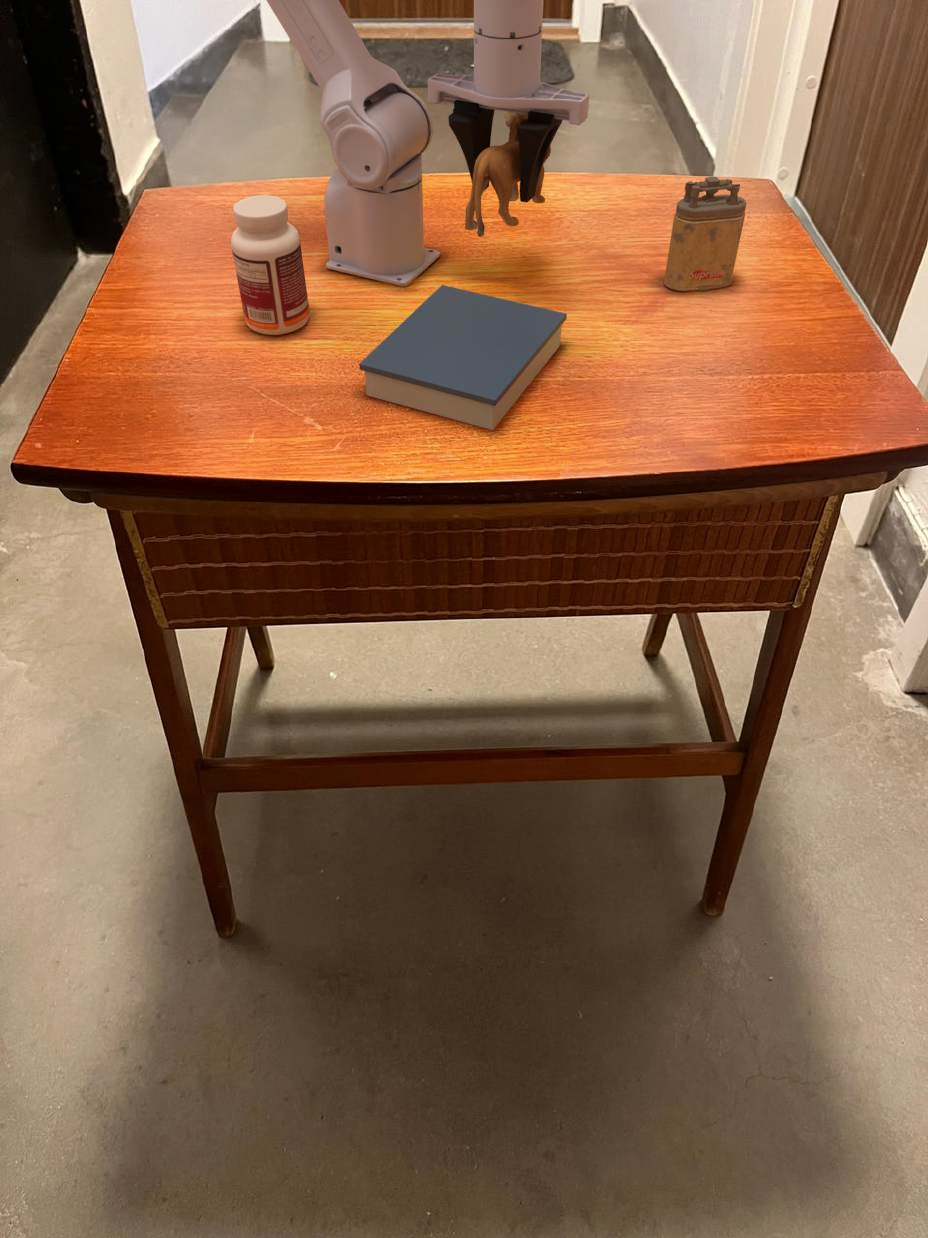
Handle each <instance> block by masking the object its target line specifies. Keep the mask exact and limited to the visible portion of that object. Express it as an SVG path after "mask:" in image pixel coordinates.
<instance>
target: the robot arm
mask: <svg viewBox="0 0 928 1238" xmlns="http://www.w3.org/2000/svg"><path fill="white" fill-rule="evenodd" d="M265 1H266V3H267V4H268V6H269V7H270V9H271V10H272V12H273V14H274V16H275V17H276V18H277V20H278V22H279V24H280V25H281V27H282V29H283V30H284V32H285V33H286V35H287V36H288V38H289V40H290V41H291V44H292V45H293V46H294V48H295V50H296V52H297V53H298V55H299V56H300V58H301V59H302V61H303V63H304V64H305V67H306V68H307V69H308V71H309V72H310V74H311V76H312V77H313V79H314V81H315V82H316V84H317V85H318V87H319V89H320V91H321V92H322V99H321V106H320V114H319V124H320V126H321V128H322V129H323V131H324V133H325V135H326V136H327V139H328V141H329V144H330V147H331V148H330V149H331V153H332V154H331V155H332V158H333V160H334V163H335V165H336V167H337V169H336V170H334V172H333V173H332V174H331V175H330V177H329V179H328V180H327V184H326V188H325V191H324V192H325V193H324V204H323V205H324V207H323V208H324V216H325V228H326V238H327V247H328V256H329V257H328V258H329V260H328V261H327V262H326V263H325V268H326V269H328V270H331V271H336V272H339V273H344V274H349V275H353V276H357V277H362V278H366V279H369V280H374V281H378V282H383V283H387V284H391V285H395V286H400V287H407V286H409V285H410V284H411V283H412V282H413V281H414V280H416V278H417V277H419V276H420V275H421V274H422V273H423V272H424V271H425V270H426V269H427V268H429V266H431V265H432V263H434V262H435V261H436V260H437V259H438V258H439V257H440V256H441V251H440V250H438V249H433V248H429V247H425V233H424V229H425V228H424V194H423V168H422V167H423V158H422V157H423V156H422V155H423V153H425V152H426V150H427V149H428V148H429V146H430V144H431V141H432V138H433V135H434V134H433V133H434V125H433V119H432V115H431V113H430V110H429V108H428V106H427V105H426V103H425V102H424V101H423V99H422V98H421V97H420V96H418V95H417V94H416V93H415V92H413V91H412V90H411V89H409V87H407V86H406V84H405V83H404V81H403V80H402V79H401V77H400V75H399V74H398V72H397V71H396V70H395V69H394V68H393V67H391V66H389V65H387V64H385V63H383V62H381V61H379V60H378V59H376V58H374V57H372V55H371V54H370V52H369V49H368V48H367V47H366V45H365V43H364V42H363V40H362V37H361V36H360V34H359V33H358V31H357V29H356V27H355V26H354V24H353V23H352V21H351V19H350V18H349V16H348V14H347V12H346V10H345V9H344V7H343V5H342V4H341V2H340V0H265ZM543 15H544V0H473V74H449V73H448V74H445V73H438V72H437V73H435V74H434V75H432V76H431V77H429V78H428V79H427V103H428V104H433V105H439V104H441V103H446V104H453V108H452V113H450V114H449V115H448V118H447V119H448V126H449V128H450V129H451V131H452V133H453V134H454V137H455V138H456V141H457V142H458V144H459V146H460V150H461V151H462V154H463V156H464V160H465V162H466V165H467V168H468V173H469V176H470V180H471V183H472V182H473V172H474V166H475V162H476V160H477V158H478V156H479V155H480V153H481V152H482V151H483V150H485V149H487V148H489V147H491V140H492V131H493V125H494V124H493V122H494V115H495V111H499V112H507V113H508V112H513V113H520V114H526V115H528V119H527V120H526V119H525V120H524V121H523V122H522V123H520V124H519V125H518V126H517V135H518V141H519V148H520V161H521V174H520V181H519V201H520V203H526V204H527V203H529V202H530V201H532V198H533V197H534V196H535V193H536V187H537V183H538V179H539V175H540V172H541V168H542V165H543V166H544V164H543V162H544V159H545V157H546V154H547V152H548V149H549V147H551V145H552V142H553V140H554V138H555V136H556V134H557V133H558V131H559V129H560V127H561V125H562V123H563V121H567V122H568V124H570V125H575V126H580V125H582V124H583V123H584V122H585V121H586V120H587V119H588V118H589V105H590V94H588V93H583V92H577V91H574V90H570V89H566V88H563V87H559V86H555V85H553V84H549V83H546V82H543V81H541V66H542V65H541V64H542V43H543V41H542V39H543V17H544V16H543ZM490 183H491V182H490V181H489V183H488V185H487V186H486V188H485V190H484V192H485V191H486V190H487V189H488V188H490Z"/></svg>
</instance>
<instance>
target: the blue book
mask: <svg viewBox="0 0 928 1238" xmlns="http://www.w3.org/2000/svg"><path fill="white" fill-rule="evenodd" d="M567 315H568V314H567V313H565V312H561V311H557V310H552V309H548V308H544V307H541V306H540V307H539V306H536V305H532V304H526V303H523V302H519V301H513V300H509V299H505V298H501V297H497V296H492V295H488V294H484V293H479V292H475V291H471V290H466V289H463V288H459V287H458V288H457V287H454V286H449V285H445V284H441V286H439V287H438V288H437V289H436V290H435V291H434V292H433V293H432V294H431V295H430V296H429V297H428V298H427V299H426V300H424V302H422V303H421V304H420V305H419V306H418V307H417V308H416V309H415V310H414V311H413V312H412V313H411V314H410V315H408V316H407V318H405V320H404V321H403V322H401V323H400V324H399V325H398V326H397V327H396V328H395V329H394V330H393V331H392V332H391V333H390V334H389V335H388V336H387V337H386V338H384V340H382V342H380V344H378V345H377V346H376V347H375V348H374V349H373V350H372V351H371V352H369V354H368V355H367V356H365V358H363V360H361V361H360V363H359V364H358V365H359V366H358V367H359V370H360V371H363V372H364V378H365V392H366V396H368V397H371V398H374V399H378V400H382V401H385V402H389V403H393V404H397V405H400V406H402V407H403V406H404V407H406V408H407V407H408V408H410V409H414V410H418V411H421V412H425V413H429V414H432V415H436V416H439V417H442V418H443V417H444V418H447V419H450V420H454V421H458V422H461V423H465V424H468V425H473V426H475V427H479V428H483V429H486V430H489V431H493V430H495V428H497V426H498V424H499V423H500V422H501V421H502V420H503V418H504V417H505V416H506V414H507V413H508V412H509V410H510V409H511V408H512V407H513V405H514V404H515V403H516V402H517V401H518V400H519V398H520V397H521V395H522V394H523V393H524V392H525V391H526V390H527V388H528V387H529V385H530V384H531V383H532V382H533V380H534V379H536V377H537V376H538V374H539V373H540V372H541V370H542V369H543V368H544V367H545V365H546V364H547V363H549V360H550V359H551V358H552V356H553V355H554V354H555V353H556V352H557V350H558V349H559V348H560V347H561V339H562V326H563V324H564V323H565V322H566V321H567Z"/></svg>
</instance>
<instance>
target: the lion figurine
mask: <svg viewBox="0 0 928 1238" xmlns="http://www.w3.org/2000/svg"><path fill="white" fill-rule="evenodd" d="M525 119H526V120H527V119H528V115H526V114H520V113H513V112H507V113H506V114H504V123H505V125H506V127H507V128H509V132H508V141H506V142H505V143H504V144H500V145H490V147H489V148H487V149H485V150H483V151H482V152H481V153H480V155H479V156H478V158H477V160H476V162H475V166H474V172H473V182H472V181H471V190H470V191H471V192H470V197H469V200H468V202H467V204H466V207H465V223H464V229H465V230H467V231H475V230H476V231H477V232H476V234H477V237H479V238H482V237H483V236H484V235H485V224H484V221H483V214H482V196H483V193H484V192H485V191H486V190H485V188H486V186H487V185H488V183H489V184H491V186H492V188H493V189H494V191H495V194H496V196H497V199H498V211H497V212H498V215H499V216H500V218H501V219H502V221H503V222H504V224H505V225H506V226H508V227H516V226H518V225H519V219H518V217H516V216H511V214H510V211H509V210H510V208H509V205H510V202H516V201H518V200H519V199H520V190H519V186H518V185H519V184H518V183H520V174H521V161H520V148H519V141H518V135H517V126H518V125H519V124H520V123H522V122H523V121H524V120H525ZM551 147H552V146H550V147H549V149H548V152H547V154H546V157H545V159H544V162H543V165H542V168H541V172H540V175H539V179H538V183H537V187H536V193H535V196H534V197H533V198H532V199H531V201H532V202H533V203H535V204H544V203H545V202H546V198H545V197H544V196H543V195H542V194H541V193H542V189H543V183H544V178H545V166H544V164H545V163H546V162H547V160H548V159H549V158H550V157H551V153H552V152H551V151H552V148H551ZM489 181H490V182H489ZM484 190H485V191H484ZM474 216H475V219H476V220H475V219H474Z"/></svg>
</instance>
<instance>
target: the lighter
mask: <svg viewBox="0 0 928 1238" xmlns="http://www.w3.org/2000/svg"><path fill="white" fill-rule="evenodd" d="M740 187H741V183H733V180H732V179H729V178H726V179H719V177H717V176H707V177H705V179H704V180H701V181H695V182H694V181H691V180H689V181H687V182H686V183H685V184H684V196H683V198H682V199H680V200H679V201H678V202H677V203H676V208H675V209H676V210H675V213H674V215H673V221H672V228H671V235H670V241H669V246H668V252H667V259H666V266H665V273H664V277H663V280H662V281H663V285H664V286H666V288H668V289H670V290H674V291H679V292H687V291H701V292H706V291H709V290H711V289H717V288H725V287H727V286H730V285H731V284H732V283H733V275H734V272H735V271H734V270H735V266H736V260H737V256H738V251H739V245H740V241H741V237H742V233H743V227H744V223H745V219H746V218H745V217H746V213H745V212H746V207H747V200H746V199H745V198H743V197H741V196H738V195H739V194H738V193H739V192H740ZM723 190H724V191H725V190H727V191H729V192H730V194H717V193H718V192H719V191H723ZM704 192H705V194H704V195H701V196H700V193H704ZM716 194H717V195H716Z"/></svg>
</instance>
